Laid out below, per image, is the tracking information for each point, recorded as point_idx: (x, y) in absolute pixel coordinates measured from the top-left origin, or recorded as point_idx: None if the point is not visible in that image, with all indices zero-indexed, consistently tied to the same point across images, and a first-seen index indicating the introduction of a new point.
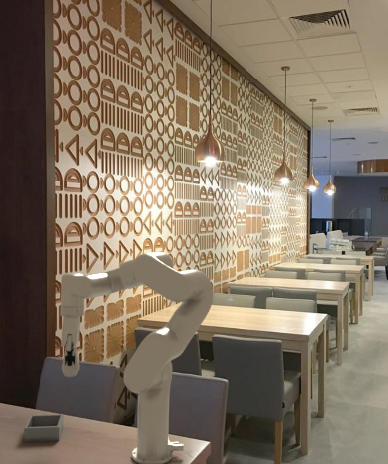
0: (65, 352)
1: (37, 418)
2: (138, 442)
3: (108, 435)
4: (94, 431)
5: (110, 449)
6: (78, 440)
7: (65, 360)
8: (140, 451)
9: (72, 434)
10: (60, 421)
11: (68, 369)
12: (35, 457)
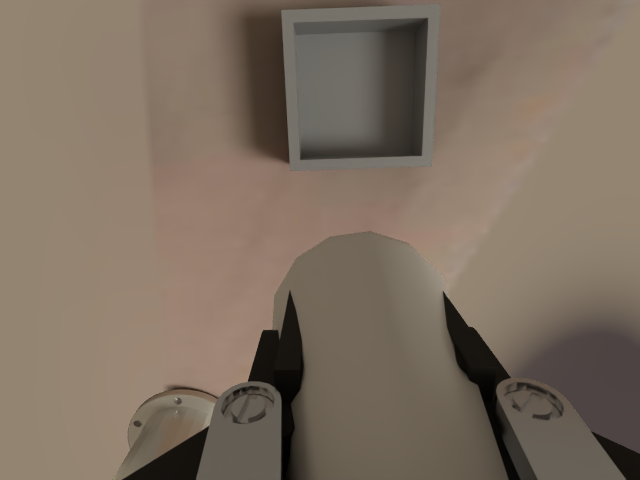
0: (343, 390)
1: (423, 46)
2: (146, 440)
3: None
4: None
5: (228, 331)
6: (295, 231)
7: (282, 331)
8: (146, 427)
9: (347, 204)
10: (349, 165)
11: (274, 315)
12: (160, 103)
